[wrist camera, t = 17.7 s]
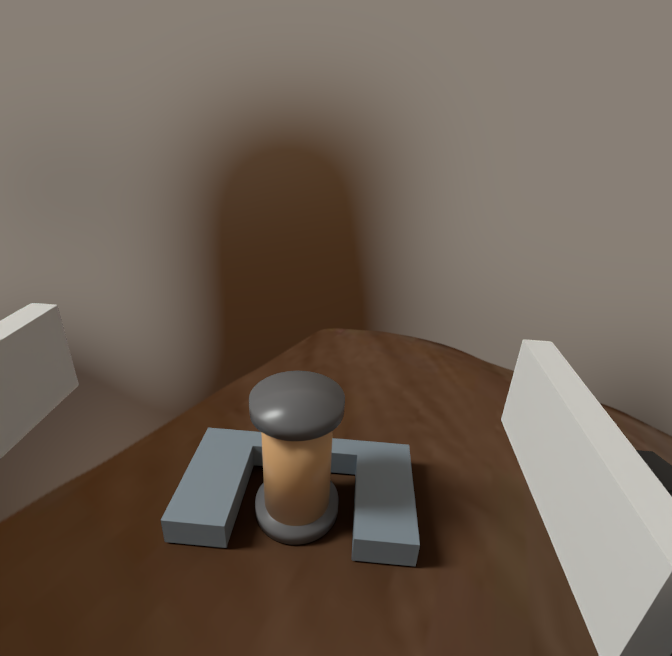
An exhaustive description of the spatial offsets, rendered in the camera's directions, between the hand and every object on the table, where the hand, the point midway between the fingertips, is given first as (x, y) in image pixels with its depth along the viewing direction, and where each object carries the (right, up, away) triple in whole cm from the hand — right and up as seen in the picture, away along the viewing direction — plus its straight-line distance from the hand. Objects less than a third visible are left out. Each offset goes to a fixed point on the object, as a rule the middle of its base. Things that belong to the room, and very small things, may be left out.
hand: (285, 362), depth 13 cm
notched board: (-2, -14, +27) cm, 30 cm away
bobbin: (-2, -15, +26) cm, 30 cm away
